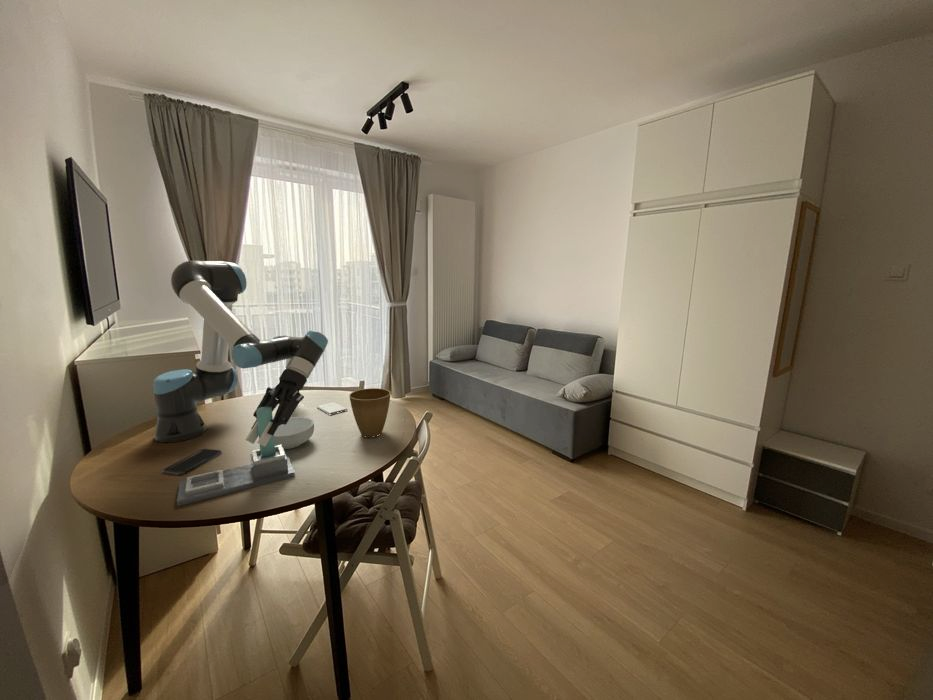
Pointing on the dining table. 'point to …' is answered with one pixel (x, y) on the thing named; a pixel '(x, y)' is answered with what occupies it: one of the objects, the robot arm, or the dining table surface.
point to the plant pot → (370, 410)
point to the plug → (263, 419)
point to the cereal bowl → (294, 432)
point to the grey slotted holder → (236, 477)
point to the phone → (192, 461)
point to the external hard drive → (331, 408)
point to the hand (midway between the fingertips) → (255, 443)
